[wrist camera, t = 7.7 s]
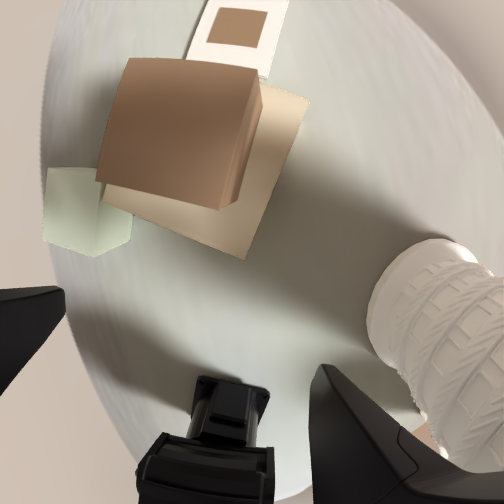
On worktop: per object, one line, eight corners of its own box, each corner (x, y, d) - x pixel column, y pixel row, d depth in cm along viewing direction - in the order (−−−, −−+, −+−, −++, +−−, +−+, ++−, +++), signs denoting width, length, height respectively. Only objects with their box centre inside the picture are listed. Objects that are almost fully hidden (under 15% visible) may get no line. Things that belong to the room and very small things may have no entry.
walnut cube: (237, 200, 14) (218, 210, 9) (148, 179, 14) (94, 181, 9) (262, 107, 12) (257, 69, 8) (171, 91, 13) (129, 57, 8)
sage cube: (130, 240, 20) (93, 257, 15) (82, 227, 20) (42, 239, 15) (139, 175, 19) (102, 175, 14) (89, 167, 19) (48, 167, 14)
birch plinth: (251, 240, 19) (244, 260, 14) (138, 195, 19) (101, 201, 14) (300, 121, 17) (310, 100, 12) (182, 83, 17) (156, 57, 12)
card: (267, 79, 16) (267, 76, 16) (185, 68, 16) (182, 65, 16) (289, 0, 14) (289, -4, 14) (214, -8, 14) (213, -12, 14)
